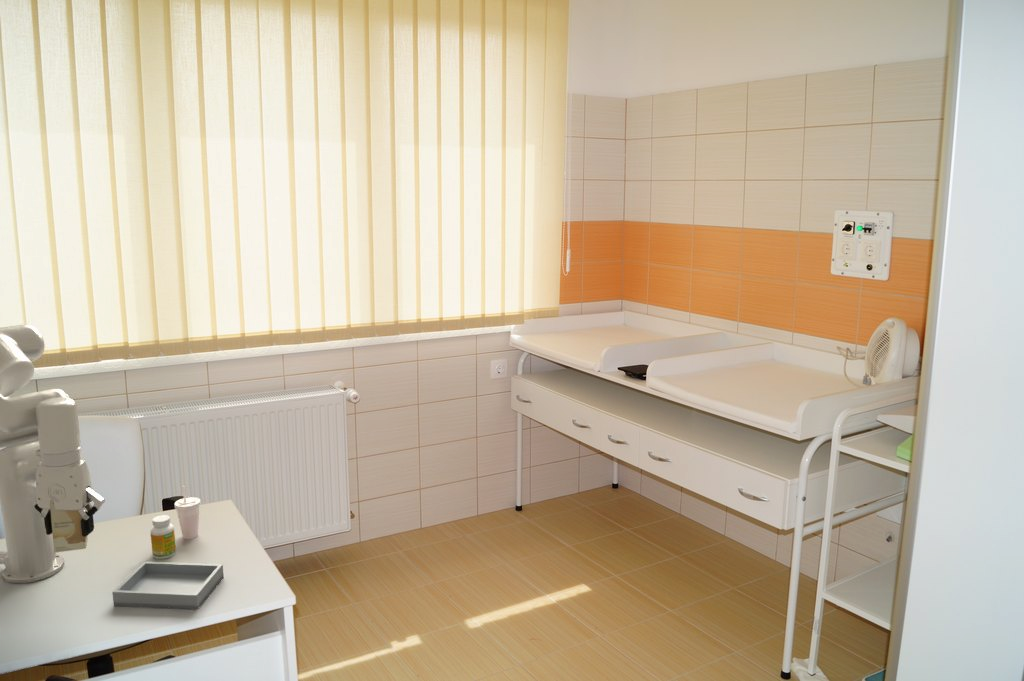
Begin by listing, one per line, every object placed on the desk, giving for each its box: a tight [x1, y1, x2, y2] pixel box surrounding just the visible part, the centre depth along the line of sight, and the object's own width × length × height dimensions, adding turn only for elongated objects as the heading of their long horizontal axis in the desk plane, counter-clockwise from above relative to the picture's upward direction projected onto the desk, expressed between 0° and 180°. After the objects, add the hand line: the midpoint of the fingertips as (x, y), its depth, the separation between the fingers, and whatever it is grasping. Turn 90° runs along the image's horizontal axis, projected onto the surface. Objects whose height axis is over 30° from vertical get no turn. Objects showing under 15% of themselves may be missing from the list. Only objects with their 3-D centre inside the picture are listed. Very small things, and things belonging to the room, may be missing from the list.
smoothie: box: [174, 485, 202, 540], centre depth 204 cm, size 6×6×14 cm
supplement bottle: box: [150, 514, 177, 560], centre depth 195 cm, size 5×5×10 cm
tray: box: [111, 561, 224, 610], centre depth 178 cm, size 19×14×4 cm
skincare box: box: [50, 500, 89, 554], centre depth 169 cm, size 6×4×12 cm
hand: (70, 532), depth 169 cm, fingers closed on skincare box, 7 cm apart
